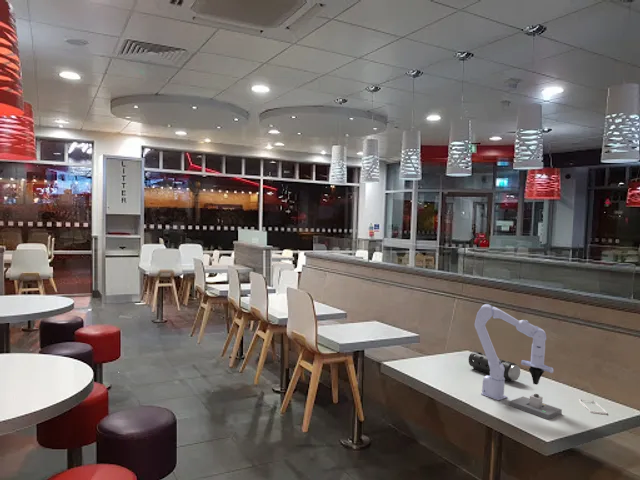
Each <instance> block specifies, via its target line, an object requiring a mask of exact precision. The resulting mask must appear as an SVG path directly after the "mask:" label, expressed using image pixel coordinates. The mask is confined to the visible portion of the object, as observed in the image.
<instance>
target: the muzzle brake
mask: <svg viewBox="0 0 640 480" xmlns="http://www.w3.org/2000/svg"><path fill="white" fill-rule="evenodd" d="M499 360H500V362H501V363H502V364H503V365H504V367H505V371H504V376H503V377H504V378H505V379H506V380H507V381H511V382H512V381H513V382H516V381H517V380H519V378H520V375H521V367H520V366H519V365H517V364H516V363H514V362H512V361H506V360H504V359H501V358H499ZM468 364H469V366H470V367H472V368H473V369H474V370H477V371H479V370H480V372H482V371H483V373H485V374H489V375H490V367H489V364H488V359H487V357H486V354H485V353H483V352H478V350H477V351H475V350H474V351H472V352H471V353H470V354H469V356H468ZM506 380H505V381H506Z"/></svg>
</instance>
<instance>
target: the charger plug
mask: <svg viewBox="0 0 640 480" xmlns="http://www.w3.org/2000/svg"><path fill="white" fill-rule="evenodd" d="M529 399H530V401H529V406H532V407H535V408H538V409H539V408H542V403H543V399H544V397H543V396H540V394H538V393H534V394H532V395H529Z"/></svg>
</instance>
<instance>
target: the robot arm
mask: <svg viewBox="0 0 640 480" xmlns="http://www.w3.org/2000/svg"><path fill="white" fill-rule="evenodd" d="M491 318H492V319H500V320H502V321H505V322H506V323H508V324H510V325H512V326H513V327H515V329H516V331H517V332H520V334H523V335H525V336H527V337H528V338H532V343H531V353H530V360H525V359H522V360H521V361H520V365H521V366H525V367H526V366H527V367H528V371H529V373H530V375H531V378H532V379H531V380H532V384H533V385H539V383H540V379H541V377H542V376H543V374H544V372H548V373H549V374H553V373H554V367H552V366H549V365H547V364H545V358H546V357H545V355H546V341H547V333H546V331H545V330H544V329H543V328H541V327H539V326H538V325H534V324H532V323H530V322H529V320H527V319H521V320H520V319H519V320H518V319H517V318H515V317H514V316H512V315H510V314H509V313H508V312H505V311H504V310H502V309H500V308H498V307H496V306H493V305H491V304H489V303H485V304H483V305H481V307H480V308H479V310H478V311H477V313H476V316H475V321H474V325H473V326H474V328H475V331H476V334H477V336H478V339H479V342H480V344H481V346H482V349H483V350H484V351H483V352H484V354H486V357H487V359H488V364H489V367H490V374H489V375H484V377H483V379H482V389H481V393H480V394H481V395H483V396H485V397H488V398H491V399H494V400H496V401H500V400H503V399H507V398H508V396H507V395H505V381H506V380H505V378H504V377H503V376H504V371H505V367H504V365H503V364H502V363H501V362H500V360H499V359H500V358H499V357H498V355H497V352H496V349H495V347H494V344H493V342H492V340H491V337H490V335H489V331H488V329H487V326H486V324H487V322H488V321H489V320H491Z"/></svg>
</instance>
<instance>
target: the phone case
mask: <svg viewBox="0 0 640 480" xmlns="http://www.w3.org/2000/svg"><path fill="white" fill-rule="evenodd" d="M583 401H584V402H585V401H586V402H590V400H589V399H578V403H580V404H581V405H582V406H583V407H584V408H586V409H587V411H588V412H589V413H591V414H600V415H606V414H607V415H608V411H606V409H605V408H603V407H602V406H601V405H600V404H599V403H598V402H596V400H591V403H592V404H595V405H596V406H598V408H599V407H600V408H599V409H601V410H602V411H599V410H598V411H596V410H591V409H590V408H589V407H588V406H587V405H586V404H585V403H584V402H583Z"/></svg>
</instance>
